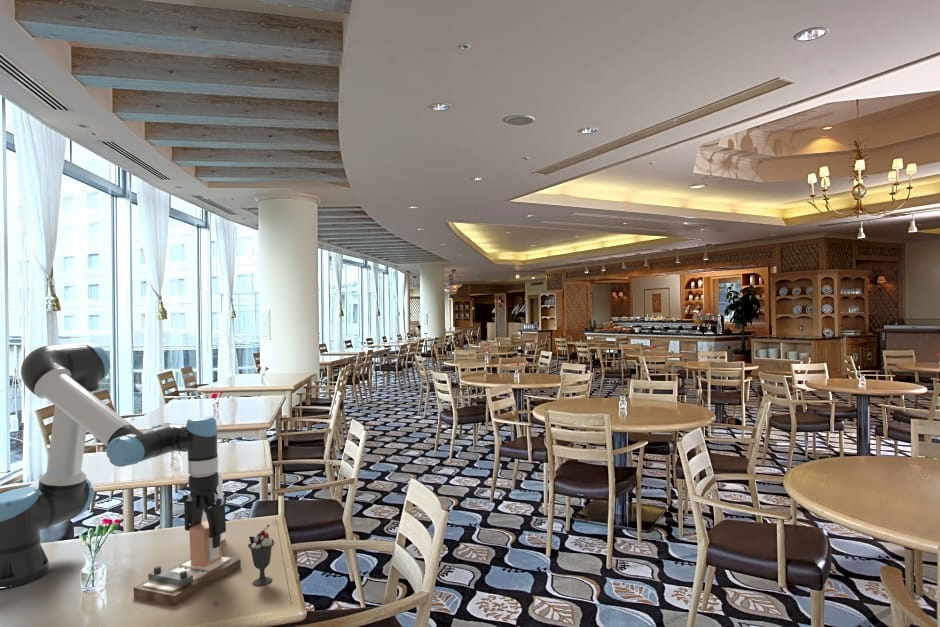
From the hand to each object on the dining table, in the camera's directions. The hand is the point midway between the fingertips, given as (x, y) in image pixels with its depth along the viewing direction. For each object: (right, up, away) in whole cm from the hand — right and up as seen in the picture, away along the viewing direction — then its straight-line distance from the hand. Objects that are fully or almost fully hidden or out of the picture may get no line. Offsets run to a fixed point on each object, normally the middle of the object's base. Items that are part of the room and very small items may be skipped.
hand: (206, 557), depth 159 cm
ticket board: (-2, -4, -5) cm, 7 cm away
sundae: (+18, -4, -7) cm, 20 cm away
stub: (0, -2, 0) cm, 2 cm away
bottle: (-9, -5, +22) cm, 24 cm away
